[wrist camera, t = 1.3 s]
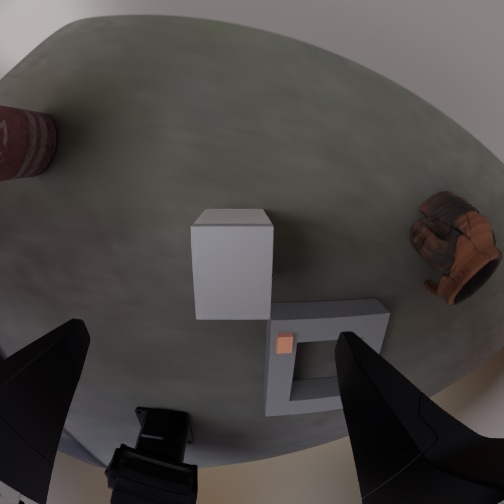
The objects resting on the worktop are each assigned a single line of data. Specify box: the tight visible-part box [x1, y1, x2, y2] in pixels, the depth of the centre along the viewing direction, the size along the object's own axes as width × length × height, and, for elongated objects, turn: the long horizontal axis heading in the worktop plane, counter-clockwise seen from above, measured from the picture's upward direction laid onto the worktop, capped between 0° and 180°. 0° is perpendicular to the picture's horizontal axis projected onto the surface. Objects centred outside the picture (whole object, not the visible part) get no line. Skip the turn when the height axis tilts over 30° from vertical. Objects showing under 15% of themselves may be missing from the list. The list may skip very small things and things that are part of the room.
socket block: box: [263, 298, 390, 416], centre depth 24 cm, size 12×10×4 cm
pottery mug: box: [410, 192, 502, 305], centre depth 21 cm, size 12×10×8 cm
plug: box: [191, 209, 274, 320], centre depth 19 cm, size 6×4×7 cm
